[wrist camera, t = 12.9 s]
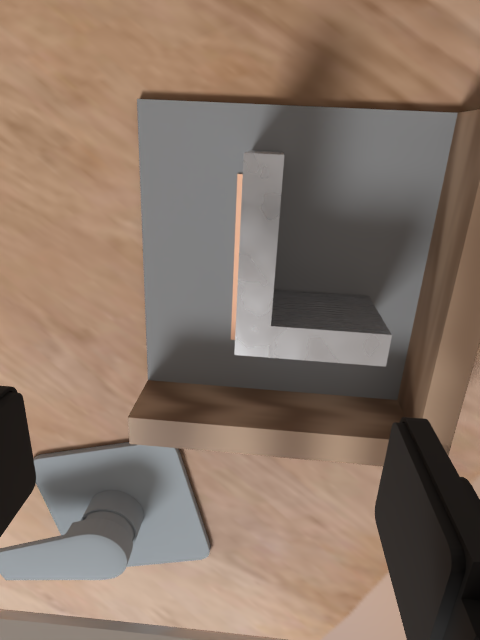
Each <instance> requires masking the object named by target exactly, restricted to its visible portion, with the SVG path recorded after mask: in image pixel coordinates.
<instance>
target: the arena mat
mask: <svg viewBox="0 0 480 640" xmlns="http://www.w3.org/2000/svg"><path fill="white" fill-rule="evenodd" d="M137 110H138V135H139V161H140V186H141V212H142V237H143V262H144V288H145V313H146V339H147V364H148V380H152V381H165V382H178V383H190V384H203V385H215V386H228V387H240V388H253V389H265V390H278V391H291V392H303V393H316V394H328V395H341V396H353V397H366V398H378V399H391V400H397V399H398V394H399V390H400V385H401V380H402V375H403V370H404V366H405V361H406V356H407V351H408V347H409V342H410V337H411V332H412V328H413V323H414V318H415V313H416V309H417V304H418V299H419V294H420V290H421V285H422V280H423V275H424V271H425V266H426V261H427V256H428V252H429V247H430V242H431V237H432V233H433V228H434V223H435V218H436V214H437V209H438V204H439V199H440V195H441V190H442V185H443V180H444V176H445V171H446V166H447V161H448V156H449V152H450V147H451V142H452V137H453V133H454V128H455V123H456V118H457V114H458V113H450V112H427V111H405V110H382V109H359V108H336V107H313V106H290V105H267V104H244V103H221V102H198V101H175V100H152V99H137ZM251 150H252V151H271V152H283V153H284V167H283V180H282V192H281V205H280V217H279V230H278V243H277V255H276V268H275V280H274V290H284V291H298V292H313V293H328V294H342V295H357V296H369V297H370V299H371V301H372V302H373V304H374V306H375V307H376V309H377V311H378V312H379V314H380V316H381V317H382V319H383V321H384V322H385V324H386V326H387V327H388V329H389V331H390V332H391V334H392V338H391V343H390V348H389V353H388V358H387V364H386V367H384V366H371V365H359V364H346V363H333V362H320V361H307V360H294V359H281V358H268V357H255V356H242V355H234V352H235V330H236V309H237V287H238V265H239V244H240V222H241V201H242V179H243V158H244V153H245V152H248V151H251Z"/></svg>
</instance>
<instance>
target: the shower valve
mask: <svg viewBox="0 0 480 640" xmlns="http://www.w3.org/2000/svg"><path fill="white" fill-rule="evenodd" d="M33 460H34V466H35V472H36V484H37V486H38V488H39V490H40V492H41V494H42V496H43V499H44V501H45V503H46V505H47V507H48V509H49V511H50V513H51V515H52V517H53V519H54V521H55V523H56V525H57V527H58V529H59V531H60V533H61V536H57V537H52V538H47V539H43V540H38V541H33V542H28V543H24V544H19V545H14V546H10V547H5V548H0V574H1V575H2V576H3V577H4V578H5V580H105V579H111V578H115V577H117V576H119V575H120V574H122V573H123V572H124V570H125V569H126V567H130V566H140V565H150V564H161V563H171V562H182V561H192V560H201V559H204V558H206V557H208V555H209V552H210V542H209V539H208V536H207V533H206V530H205V527H204V524H203V521H202V518H201V515H200V512H199V509H198V506H197V503H196V500H195V497H194V494H193V491H192V487H191V484H190V481H189V478H188V475H187V472H186V469H185V466H184V463H183V460H182V457H181V454H180V451H179V448H169V447H158V446H146V445H135V444H129V442H126V443H119V444H112V445H105V446H97V447H90V448H83V449H76V450H69V451H62V452H55V453H48V454H41V455H38V456H36V457H34V459H33Z"/></svg>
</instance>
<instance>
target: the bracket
mask: <svg viewBox="0 0 480 640" xmlns="http://www.w3.org/2000/svg"><path fill="white" fill-rule="evenodd" d="M283 167H284V153H283V152H271V151H252V150H251V151H248V152H245V153H244V158H243V179H242V201H241V222H240V244H239V265H238V287H237V309H236V330H235V352H234V355H242V356H255V357H268V358H281V359H294V360H307V361H320V362H333V363H346V364H359V365H371V366H384V367H386V364H387V358H388V353H389V348H390V343H391V338H392V334H391V332H390V331H389V329H388V327H387V326H386V324H385V322H384V321H383V319H382V317H381V316H380V314H379V312H378V311H377V309H376V307H375V306H374V304H373V302H372V301H371V299H370V297H369V296H357V295H342V294H328V293H313V292H298V291H284V290H274V280H275V268H276V255H277V243H278V230H279V217H280V205H281V192H282V180H283Z"/></svg>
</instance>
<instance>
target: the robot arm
mask: <svg viewBox="0 0 480 640" xmlns="http://www.w3.org/2000/svg"><path fill="white" fill-rule="evenodd" d="M35 483H36V472H35V466H34V460H33V454H32V448H31V442H30V436H29V430H28V424H27V418H26V412H25V406H24V401H23V396H22V395H21V394H20V393H17V390H16V389H15V388H14V387H9V386H0V537H1V535H2V534H3V533H4V531H5V530H6V528H7V527H8V525H9V524H10V522H11V521H12V520H13V518H14V517H15V515H16V514H17V512H18V511H19V510H20V508H21V507H22V505H23V504H24V502H25V501H26V499H27V498H28V497H29V495H30V494H31V492H32V491H33V489H34V486H35ZM375 520H376V524H377V528H378V532H379V536H380V539H381V543H382V547H383V551H384V555H385V558H386V562H387V566H388V570H389V573H390V577H391V581H392V585H393V588H394V592H395V596H396V599H397V604H398V607H399V611H400V615H401V619H402V622H403V626H404V630H405V634H406V638H407V640H480V499H479V498H478V496H477V494H476V492H475V491H474V489H473V487H472V485H471V484H470V483H469V481H468V480H467V479H465V478H464V477H459V475H458V473H457V471H456V469H455V468H454V466H453V464H452V462H451V460H450V458H449V457H448V455H447V453H446V451H445V449H444V448H443V446H442V444H441V442H440V440H439V438H438V437H437V435H436V433H435V431H434V429H433V428H432V426H431V424H430V422H429V421H428V420H427V419H423V418H410V417H402V418H401V420H400V422H399V423H398V422H394V423H393V424H392V427H391V432H390V437H389V442H388V447H387V451H386V456H385V461H384V466H383V471H382V476H381V480H380V485H379V490H378V495H377V500H376V505H375ZM0 640H286V639H277V638H268V637H259V636H250V635H241V634H232V633H223V632H214V631H205V630H196V629H187V628H177V627H168V626H158V625H149V624H140V623H130V622H121V621H111V620H102V619H92V618H82V617H73V616H63V615H54V614H44V613H33V612H23V611H13V610H3V609H0Z"/></svg>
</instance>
